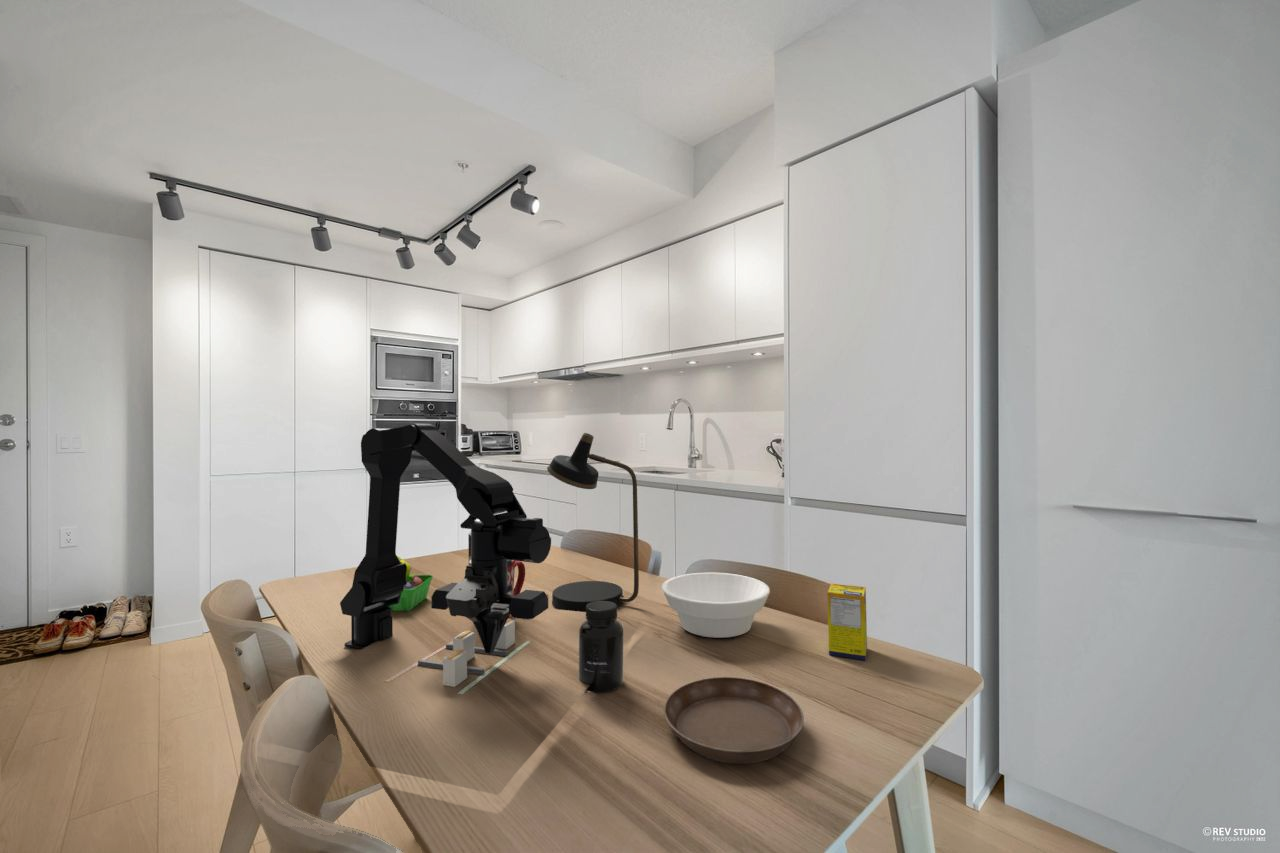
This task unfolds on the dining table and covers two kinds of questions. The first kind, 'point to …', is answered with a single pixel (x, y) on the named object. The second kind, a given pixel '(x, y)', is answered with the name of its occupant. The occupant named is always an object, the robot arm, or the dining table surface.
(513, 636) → the block
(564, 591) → the lamp
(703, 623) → the bowl
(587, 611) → the supplement bottle
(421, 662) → the panel
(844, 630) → the supplement box
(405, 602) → the fruit basket
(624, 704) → the dining table surface
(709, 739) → the plant saucer
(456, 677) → the block
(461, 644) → the block
